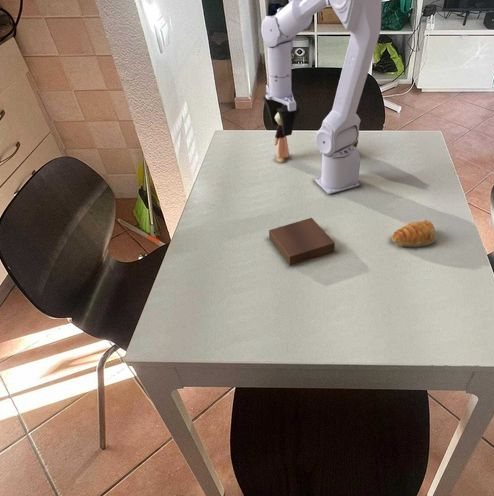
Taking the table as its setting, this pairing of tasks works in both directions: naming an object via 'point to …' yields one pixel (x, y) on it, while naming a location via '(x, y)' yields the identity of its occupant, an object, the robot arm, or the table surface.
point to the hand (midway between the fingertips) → (281, 129)
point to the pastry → (415, 234)
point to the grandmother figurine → (281, 142)
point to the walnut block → (301, 241)
